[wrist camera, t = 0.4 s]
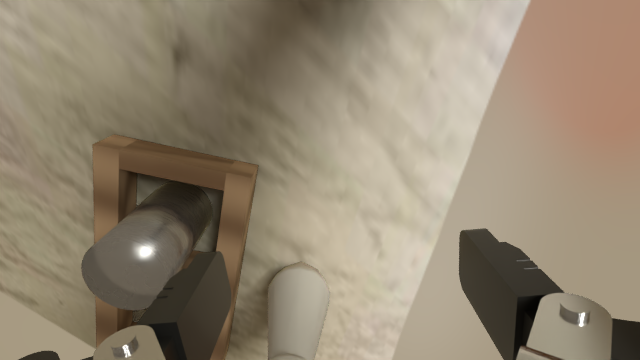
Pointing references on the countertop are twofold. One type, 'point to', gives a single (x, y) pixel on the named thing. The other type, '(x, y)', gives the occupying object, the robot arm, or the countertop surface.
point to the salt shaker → (296, 312)
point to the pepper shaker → (147, 246)
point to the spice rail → (180, 165)
